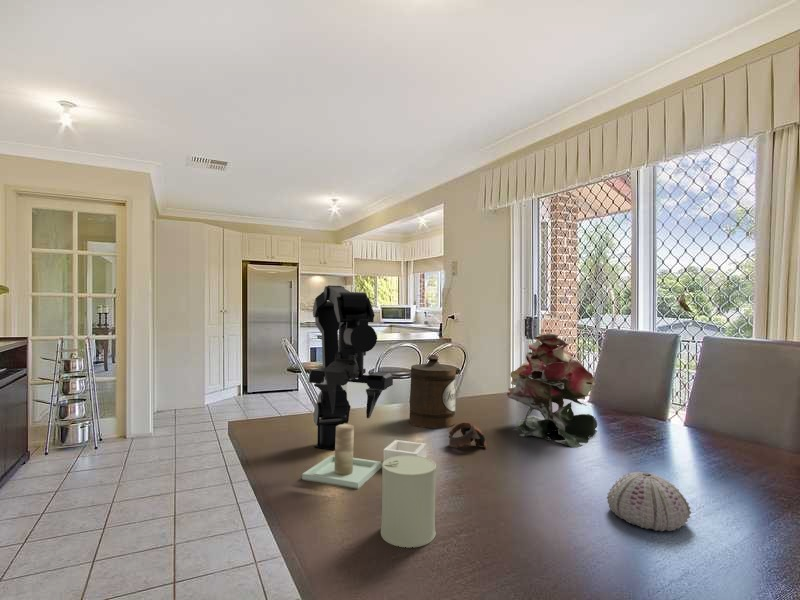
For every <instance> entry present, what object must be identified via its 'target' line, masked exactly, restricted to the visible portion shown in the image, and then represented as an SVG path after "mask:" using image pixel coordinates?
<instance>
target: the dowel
mask: <svg viewBox="0 0 800 600" xmlns="http://www.w3.org/2000/svg"><path fill="white" fill-rule="evenodd" d="M354 436H355V426H354V425H353V424H348V423H344V424H341V425H337V426H336V439H335V450H334V455H335V470H334V473H335V474H337V475H350V474H351V473H352V472H353V458H354V442H355V441H354V440H355V439H354V438H355V437H354Z"/></svg>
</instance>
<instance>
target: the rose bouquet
mask: <svg viewBox="0 0 800 600" xmlns="http://www.w3.org/2000/svg"><path fill="white" fill-rule="evenodd" d="M532 339H533V340H535V341H534V342H530V343H528V346H527V347H528V350H531V351H529V352H526V354H525V355H526V356H525V359H526V361H527V362H523V363H521V365H519V367H517V369H515V370H512V371H511V372H510V378H512V380H511V382H510V384H511V385H513V387H510V388H508V391H509V392H507V393H506V396H507V398H508V399H512V400H514V401H516V402H517V403H518V402H519V403H521V404H523V405H525V406H528V407H529V409H528V410H527V413H526V415H525V417H524V418H522V419H520V420H517V421H516V423H517V427H515V428H513V429H512V431H521V432H522V433H520V434H519V436H520V437H528V436H533V437H536V438H540V439H543V440H548V441H551V440H552V438H551V437H549V436H547V435H551V433H552V432H556V431H558V432H557V433H558V435H559V436H561V437H563V440H562V439H561V440H557V439H556V440H555V442H556V443H560V444H562V445H566V446H569V447H571V448H572V449H574V448H581V447H582V446H583V444H587V443H589V440H590V439H591V438H590V437H591V436H592V435H595V434H596V429H597V427H598V421H597V420H596V417H595V416H594V415H592V414H590V413H587V414H586V413H582V414H574V411H573V410H572V402H573V403H575V404H578V405H581V406H582V405H583V406H587V404H585V403H583V402H581V401H579V400H586V398H588V396H590V397H591V395H589V393H590V392H591V391H592V390H593V389H592V387H593V386H594V385H596V382H597V381H596V378H595V376H594V375H593V374H592V372H590V371H589V370H587V369H586V368H585V367H584V365H583V363H581V362H580V361H579V360H577V359H575V358H574V357H573V356H574V353H572V352H570V351H566V350H565V348H566V347H567V346H569V345H570V343H569V342H568V341H566V340H563V339H561V338H559V334H555V333H546V334H541V333H538V335H536V336H534V337H532ZM573 358H574V359H573ZM564 400H568V401H571V402H568V403H567V404H566V405H565V403H564V402H565V401H564ZM553 403H555V404H556V405H558V408H557V410H555V411H553ZM533 410H535V411H539V412H540V414H541V416H542V417H539V416H537V415H530V414H531V413H532V412H533ZM521 420H523V421H521Z"/></svg>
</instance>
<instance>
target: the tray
mask: <svg viewBox="0 0 800 600" xmlns="http://www.w3.org/2000/svg"><path fill="white" fill-rule="evenodd" d="M382 463H383V461H378V460H373V459H372V460H371V459H364V458H358V457H353V472H352V473H351V474H350V475H337V474H335V473H334V470H335V454H330V455H329V456H328V457H327V456H326V457H325V458H324V459H323V460H321V461H319V462H318V463H317V464H314V465H313V466H312V467H311V468H309V469H308V470H306V471H304V472H303V473H302V474H301V475H302V478H301V479H302V481H306V482H307V481H308V482H314V483H320V484H325V485H326V484H327V485H332V486H339V487H344V488H351V489H355V490H359V489H360V488H361V487H363V485H364V484H365V483H366V482H367V481H369V480H370V479H371V478H372V477H373V476H374V475H375V474H376V473H377V472H379V470H380V469H381V470H382Z"/></svg>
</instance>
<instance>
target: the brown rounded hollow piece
mask: <svg viewBox="0 0 800 600" xmlns="http://www.w3.org/2000/svg"><path fill="white" fill-rule="evenodd" d="M458 431H460V432H461V434H462V435H461V436H459V437H457V436H456V437H454V435H455V434H456V433H457V432H458ZM448 439H449V443H448V445H449V447H450V448H455V449H459V448H462V447H464V446H469V447H472V442H473V441H474V443H475V447H483V448H484V449H485V450H487V441H486V439H485V435H484V434H483V431H481V429H480V428H478V427H477V426H475V425H474V424H473V423H472V422H470V421H463V422H459V423H457V424H456V425H454V426H453V427H452V428H451V429H450V430H449V435H448Z"/></svg>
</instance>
